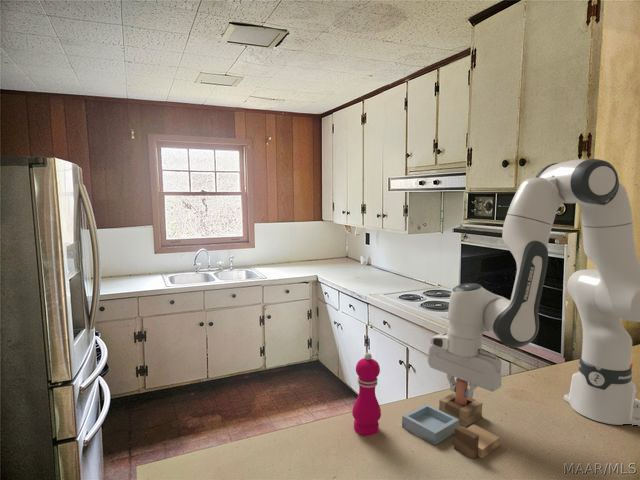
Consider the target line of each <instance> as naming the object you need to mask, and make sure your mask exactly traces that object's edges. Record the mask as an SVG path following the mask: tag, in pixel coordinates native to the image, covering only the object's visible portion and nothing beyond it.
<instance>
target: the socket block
mask: <svg viewBox="0 0 640 480" xmlns="http://www.w3.org/2000/svg"><path fill="white" fill-rule="evenodd" d="M455 393H456V392H454V391H453V393H450V394H448V395H446V396H444V397H443V398H439V402H438V403H439V405H438V410H440V411H442V412H444V413H447V414H449V415H451V416H453V417H455V418H457V419H459V425H460V426H462V427H465V426H466V427H467V426H468V425H469V426H470V424H472V423H474V422H475V421H477V420H479V419H481V417H482V416H483V402H482V401H479V400H477V399H475V398H473V397H472V398H468V397H467V405H466V406H465V407H462V406H460V405H458V404H456V403H455Z"/></svg>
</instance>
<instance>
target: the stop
mask: <svg viewBox="0 0 640 480" xmlns="http://www.w3.org/2000/svg"><path fill="white" fill-rule="evenodd" d="M453 435H454V437H453V449H454V450H456V451H457V452H460V454H462V455H464V456H467V457H469V458H470V459H475V458H477V457H479V456H478V444H479V435H478V434H476V433H474V432H472V431H470V430H467V428H466V427H464V426H462V425H459V426H458V427H456V428H455V433H454V434H453Z"/></svg>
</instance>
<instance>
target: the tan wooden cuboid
mask: <svg viewBox="0 0 640 480" xmlns="http://www.w3.org/2000/svg"><path fill="white" fill-rule="evenodd" d="M466 429H467V430H470V431H472V432H474V433H476V434H478V435H479V444H478V456H477V457H479V458H480V459H483V458H484V457H486V456H487V455H489V454H490V453H491V452H492V451H494V450H496V449H497V448H498V447H499V446H501V436H500V435H497V434H495V433H494V432H491V431H488V430H487V429H485V428H482V427H481V426H479V425H476V424H474V423H473V424H472V425H469V426H468V427H466Z"/></svg>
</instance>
